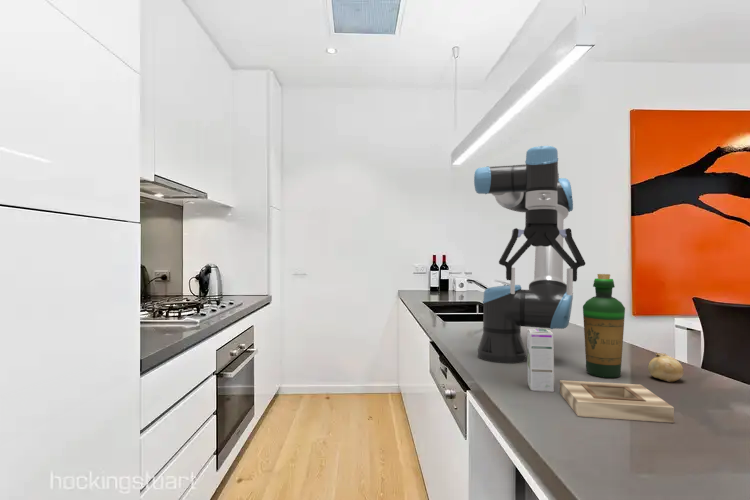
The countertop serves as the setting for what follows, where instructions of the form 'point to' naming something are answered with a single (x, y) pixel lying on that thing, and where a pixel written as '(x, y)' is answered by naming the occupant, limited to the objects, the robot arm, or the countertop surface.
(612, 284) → the bottle
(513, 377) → the countertop surface
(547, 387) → the syrup box
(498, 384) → the countertop surface
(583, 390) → the beige flat square frame
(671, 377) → the onion
